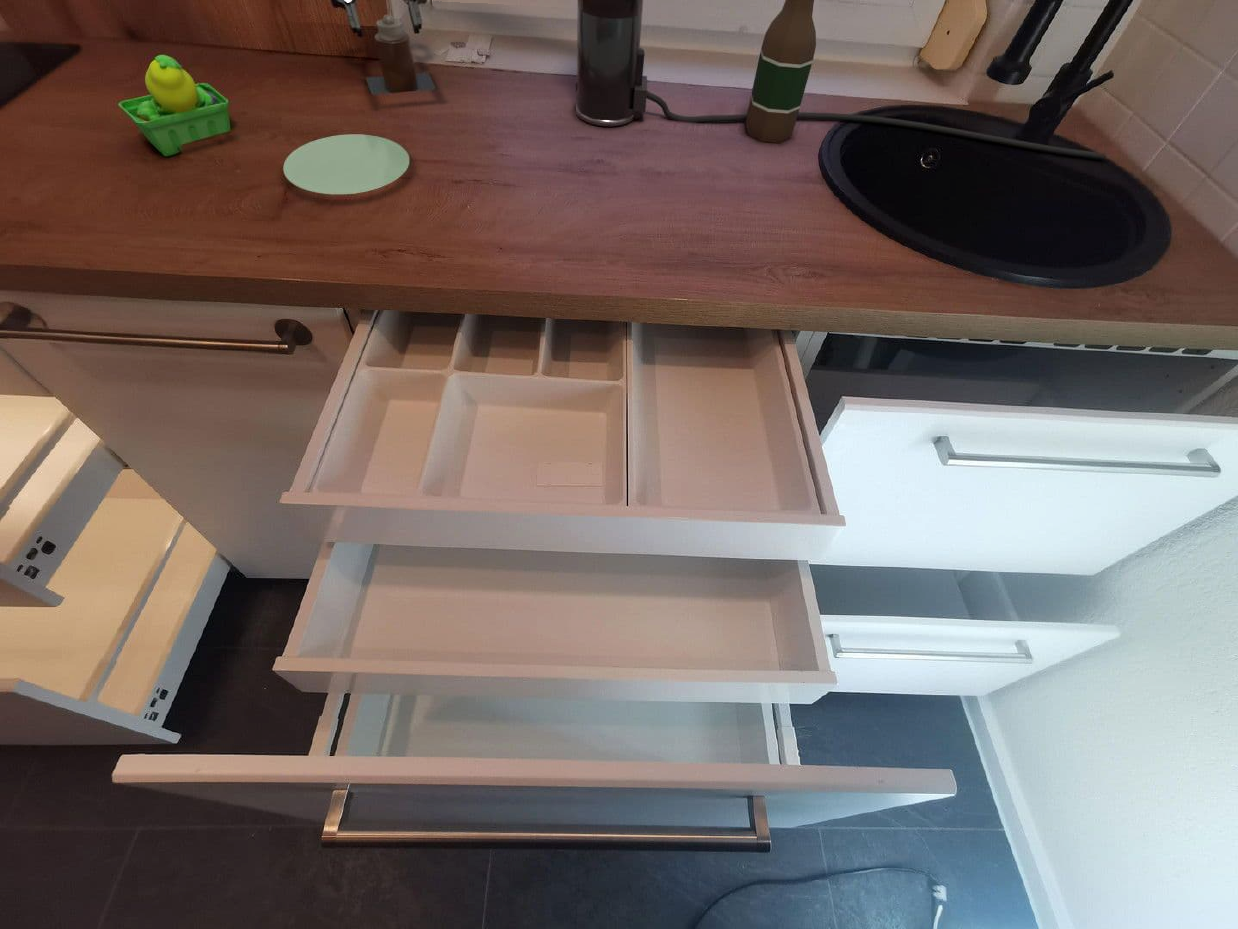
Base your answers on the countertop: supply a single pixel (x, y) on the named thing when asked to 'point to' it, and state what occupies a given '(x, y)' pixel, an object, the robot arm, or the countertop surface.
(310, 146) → the plate
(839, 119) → the robot arm
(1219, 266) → the countertop surface
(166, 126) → the fruit basket
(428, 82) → the mat
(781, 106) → the beer bottle
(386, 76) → the pepper mill
